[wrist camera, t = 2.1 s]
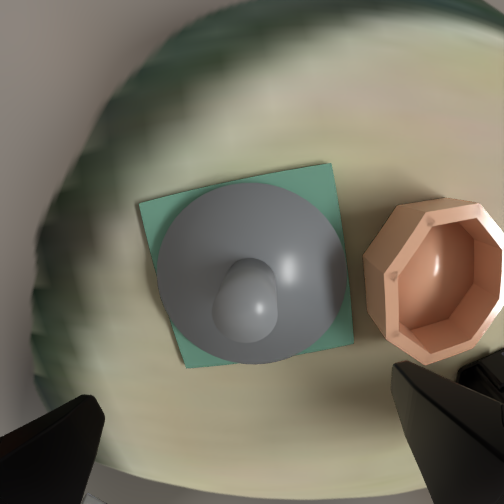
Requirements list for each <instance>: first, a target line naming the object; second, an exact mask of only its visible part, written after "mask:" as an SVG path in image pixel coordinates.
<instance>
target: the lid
mask: <svg viewBox="0 0 504 504" xmlns="http://www.w3.org/2000/svg"><path fill="white" fill-rule="evenodd" d="M157 282H158V289H159V293H160V297H161V300H162V303H163V305H164V308H165V310H166V312H167V314H168V316H169V317H170V319H171V321H172V322H173V323H174V325H175V326H176V328H177V329H178V330H179V331H180V332H181V333H182V334H183V335H184V336H185V337H186V338H187V339H188V340H189V341H190V342H191V343H193V344H194V345H195V346H197V347H198V348H200V349H201V350H203V351H205V352H207V353H209V354H211V355H213V356H215V357H218V358H220V359H223V360H227V361H231V362H235V363H242V364H265V363H272V362H276V361H280V360H283V359H286V358H289V357H292V356H294V355H296V354H298V353H300V352H302V351H303V350H305V349H307V348H308V347H310V346H311V345H312V344H313V343H315V342H316V341H317V340H318V339H319V338H320V337H321V336H322V335H323V334H324V333H325V332H326V331H327V330H328V328H329V327H330V326H331V324H332V323H333V321H334V320H335V318H336V316H337V314H338V312H339V310H340V308H341V305H342V302H343V299H344V295H345V291H346V283H347V266H346V260H345V255H344V251H343V248H342V245H341V242H340V240H339V238H338V236H337V234H336V232H335V230H334V228H333V227H332V225H331V224H330V222H329V221H328V220H327V218H326V217H325V216H324V215H323V214H322V213H321V212H320V211H319V210H318V209H317V208H316V207H315V206H313V205H312V204H311V203H310V202H308V201H307V200H306V199H304V198H302V197H301V196H299V195H297V194H296V193H293V192H291V191H289V190H286V189H284V188H281V187H277V186H274V185H270V184H262V183H239V184H232V185H227V186H224V187H220V188H217V189H214V190H212V191H210V192H208V193H206V194H204V195H202V196H200V197H199V198H197V199H196V200H194V201H193V202H191V203H190V204H189V205H188V206H187V207H186V208H184V209H183V210H182V211H181V213H180V214H179V215H178V216H177V217H176V218H175V219H174V221H173V222H172V224H171V225H170V227H169V228H168V230H167V232H166V234H165V237H164V239H163V241H162V244H161V247H160V250H159V255H158V261H157Z"/></svg>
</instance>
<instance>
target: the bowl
mask: <svg viewBox="0 0 504 504" xmlns="http://www.w3.org/2000/svg"><path fill="white" fill-rule="evenodd" d="M362 256H363V266H364V277H365V289H366V302H367V312H368V314H369V315H370V317H371V318H372V320H373V321H374V322H375V324H376V325H377V327H378V328H379V330H380V331H381V333H382V334H383V336H384V337H385V339H386V340H388V341H389V342H391V343H392V344H394V345H395V346H397V347H398V348H400V349H401V350H403V351H404V352H406V353H407V354H409V355H410V356H412V357H413V358H415V359H416V360H418V361H419V362H421V363H422V364H424V365H428V364H431V363H434V362H437V361H440V360H443V359H446V358H449V357H451V356H454V355H457V354H459V353H462V352H465V351H467V350H470V349H472V348H474V346H475V345H476V344H477V342H478V341H479V340H480V338H481V337H482V336H483V334H484V333H485V332H486V330H487V329H488V327H489V326H490V325H491V323H492V322H493V320H494V319H495V317H496V316H497V314H498V313H499V311H500V310H501V308H502V307H503V305H504V233H503V232H502V231H501V229H500V228H499V227H498V226H497V224H496V223H495V222H494V220H493V219H492V218H491V217H490V215H489V214H488V213H487V212H486V210H485V209H484V208H483V207H482V206H481V204H480V203H476V202H470V201H464V200H458V199H452V198H440V199H434V200H427V201H421V202H415V203H409V204H402V205H397V206H396V208H395V209H394V211H393V212H392V214H391V215H390V217H389V218H388V220H387V221H386V223H385V224H384V226H383V227H382V228H381V230H380V231H379V233H378V234H377V236H376V237H375V239H374V240H373V241H372V243H371V244H370V246H369V247H368V249H367V250H366V251H365V253H364V254H363V255H362Z"/></svg>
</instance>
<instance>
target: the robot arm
mask: <svg viewBox="0 0 504 504" xmlns="http://www.w3.org/2000/svg"><path fill="white" fill-rule="evenodd" d="M391 392H392V396H393V399H394V402H395V405H396V408H397V411H398V414H399V418H400V421H401V424H402V427H403V431H404V434H405V437H406V439H407V442H408V444H409V446H410V448H411V451H412V453H413V455H414V457H415V460H416V462H417V464H418V467H419V469H420V471H421V474H422V476H423V478H424V481H425V483H426V486H427V488H428V490H429V493H430V495H431V498H432V500H433V503H434V504H504V349H503V350H500V351H498V352H496V353H494V354H492V355H490V356H488V357H485V358H483V359H481V360H478V361H476V362H474V363H471V364H469V365H466V366H464V367H462V368H461V369H460V370H459V371H458V375H457V380H456V382H453V381H451V380H449V379H447V378H444V377H442V376H440V375H438V374H436V373H434V372H431V371H429V370H427V369H425V368H423V367H421V366H418V365H416V364H414V363H412V362H410V361H407V360H405V361H401V362H398V363H395V364H394V365H393V367H392V379H391ZM104 422H105V415H104V413H103V411H102V409H101V407H100V406H99V404H98V402H97V400H96V398H95V397H94V396H92V395H85V394H84V395H80V396H78V397H77V398H75V399H73V400H71V401H69V402H67V403H65V404H64V405H62V406H60V407H58V408H56V409H54V410H52V411H51V412H49V413H47V414H45V415H43V416H41V417H39V418H37V419H35V420H33V421H31V422H29V423H28V424H26V425H24V426H22V427H20V428H18V429H16V430H14V431H12V432H10V433H8V434H6V435H4V436H2V437H0V504H81V501H82V498H83V495H84V491H85V488H86V485H87V482H88V479H89V476H90V473H91V470H92V467H93V464H94V461H95V458H96V455H97V451H98V446H99V442H100V438H101V434H102V430H103V426H104Z"/></svg>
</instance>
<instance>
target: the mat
mask: <svg viewBox="0 0 504 504" xmlns="http://www.w3.org/2000/svg"><path fill="white" fill-rule="evenodd" d="M239 183H262V184H270V185H274V186H277V187H281V188H284V189H286V190H289V191H291V192H293V193H296V194H297V195H299V196H301V197H302V198H304V199H306V200H307V201H308V202H310V203H311V204H312V205H313V206H315V207H316V208H317V209H318V210H319V211H320V212H321V213H322V214H323V215H324V216H325V217H326V218H327V220H328V221H329V222H330V224H331V225H332V227H333V228H334V230H335V232H336V234H337V236H338V238H339V240H340V242H341V245H342V248H343V251H344V255H345V260H346V252H345V244H344V237H343V230H342V223H341V216H340V210H339V204H338V198H337V192H336V186H335V180H334V175H333V169H332V164H331V163H329V164H322V165H316V166H310V167H304V168H298V169H292V170H286V171H281V172H275V173H270V174H265V175H259V176H254V177H249V178H244V179H239V180H235V181H230V182H225V183H221V184H216V185H212V186H207V187H203V188H198V189H194V190H190V191H186V192H182V193H178V194H173V195H169V196H165V197H162V198H158V199H154V200H150V201H146V202H142V203H139V207H140V211H141V216H142V220H143V224H144V229H145V233H146V237H147V241H148V245H149V249H150V253H151V256H152V260H153V264H154V268H155V271H156V275H157V261H158V255H159V250H160V247H161V244H162V241H163V239H164V237H165V234H166V232H167V230H168V228H169V227H170V225H171V224H172V222H173V221H174V219H175V218H176V217H177V216H178V215H179V214H180V213H181V211H182V210H183V209H184V208H186V207H187V206H188V205H189V204H190V203H191V202H193V201H194V200H196V199H197V198H199V197H200V196H202V195H204V194H206V193H208V192H210V191H212V190H214V189H217V188H220V187H224V186H227V185H232V184H239ZM346 266H347V260H346ZM169 318H170V317H169ZM170 322H171V325H172V328H173V331H174V334H175V337H176V340H177V343H178V346H179V349H180V352H181V355H182V357H183V360H184V363H185V366H186V368H198V367H209V366H219V365H229V364H237V363H235V362H231V361H227V360H223V359H220V358H218V357H215V356H213V355H211V354H209V353H207V352H205V351H203V350H201V349H200V348H198V347H197V346H195V345H194V344H193V343H191V342H190V341H189V340H188V339H187V338H186V337H185V336H184V335H183V334H182V333H181V332H180V331H179V330H178V329H177V328H176V326H175V325H174V323H173V322H172V321H171V319H170ZM350 344H354V336H353V322H352V309H351V298H350V288H349V278H348V269H347V283H346V291H345V295H344V299H343V302H342V305H341V308H340V310H339V312H338V314H337V316H336V318H335V320H334V321H333V323H332V324H331V326H330V327H329V328H328V330H327V331H326V332H325V333H324V334H323V335H322V336H321V337H320V338H319V339H318V340H317V341H316V342H315V343H313V344H312V345H311V346H310V347H308V348H307V349H305V350H303V351H302V352H300V353H298V354H296V355H299V354H305V353H310V352H316V351H321V350H326V349H331V348H336V347H341V346H346V345H350Z"/></svg>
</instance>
